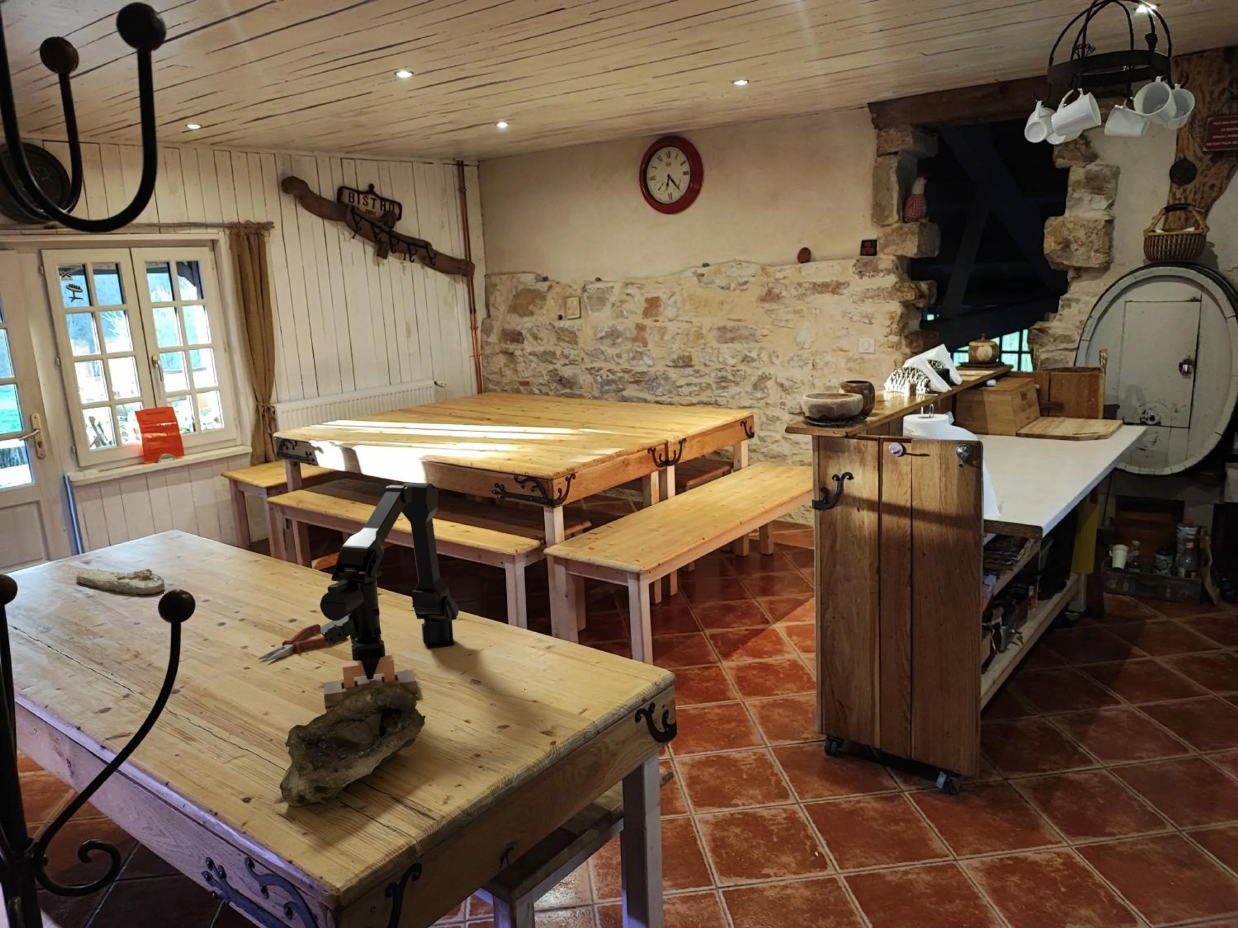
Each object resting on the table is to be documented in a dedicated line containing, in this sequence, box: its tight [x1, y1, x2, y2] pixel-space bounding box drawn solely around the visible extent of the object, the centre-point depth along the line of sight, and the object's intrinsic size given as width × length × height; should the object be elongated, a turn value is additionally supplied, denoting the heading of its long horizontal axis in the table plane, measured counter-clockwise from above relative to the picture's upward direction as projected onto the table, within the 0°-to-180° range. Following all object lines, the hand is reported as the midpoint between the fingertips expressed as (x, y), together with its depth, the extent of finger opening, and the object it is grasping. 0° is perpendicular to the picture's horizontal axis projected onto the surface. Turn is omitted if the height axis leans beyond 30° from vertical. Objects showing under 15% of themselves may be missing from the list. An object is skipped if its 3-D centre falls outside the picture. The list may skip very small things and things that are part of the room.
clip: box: [341, 654, 395, 689], centre depth 184 cm, size 10×3×6 cm, turn 108°
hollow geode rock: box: [279, 684, 426, 807], centre depth 154 cm, size 28×13×15 cm
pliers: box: [258, 623, 348, 662], centre depth 211 cm, size 12×20×3 cm, turn 148°
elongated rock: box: [75, 568, 166, 596], centre depth 261 cm, size 35×5×10 cm
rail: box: [323, 669, 418, 710], centre depth 185 cm, size 18×6×3 cm, turn 108°
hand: (369, 675), depth 184 cm, fingers closed on clip, 3 cm apart
